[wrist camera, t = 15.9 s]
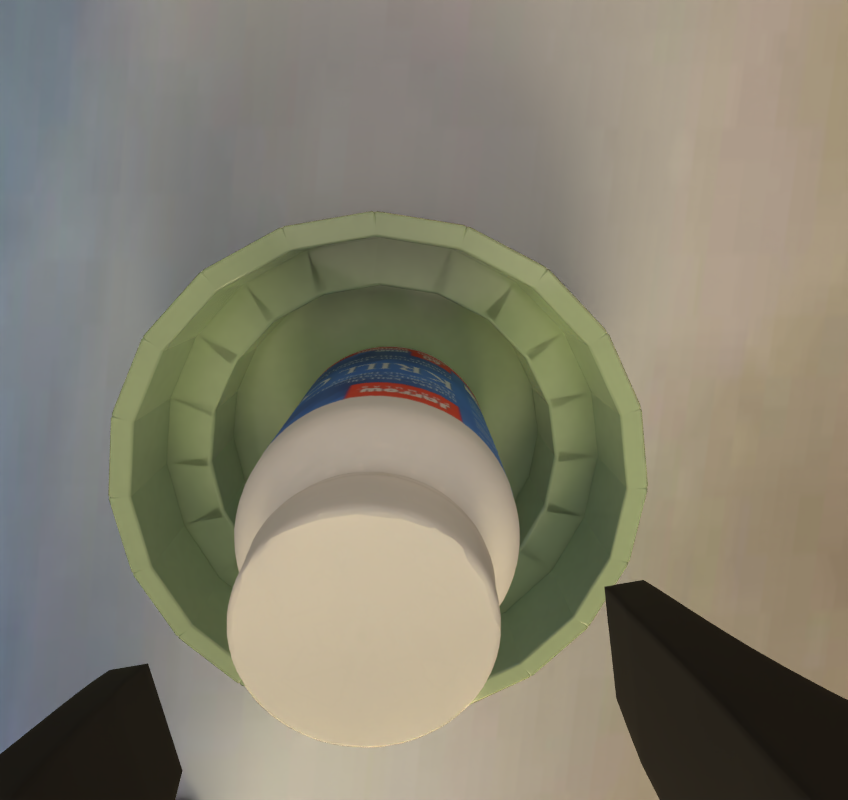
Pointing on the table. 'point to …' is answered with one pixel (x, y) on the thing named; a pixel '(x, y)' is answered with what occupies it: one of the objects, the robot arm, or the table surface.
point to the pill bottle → (373, 554)
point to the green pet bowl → (344, 335)
